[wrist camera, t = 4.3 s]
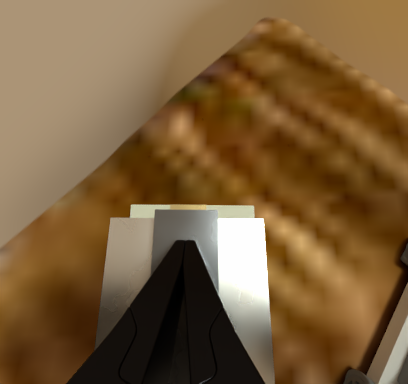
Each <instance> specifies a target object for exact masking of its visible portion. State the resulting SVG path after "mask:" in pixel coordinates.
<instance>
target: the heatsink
mask: <svg viewBox="0 0 408 384" xmlns="http://www.w3.org/2000/svg"><path fill="white" fill-rule="evenodd" d="M170 209H171V210H206V205H170ZM153 230H154V218H111V220H110V228H109V236H108V244H107V252H106V260H105V269H104V277H103V285H102V293H101V301H100V309H99V317H98V325H97V333H96V341H95V349H96V348H97V347H98V346H99V345H100V343H101V342H102V341H103V340H104V339H105V337H106V336H107V335H108V334H109V333H110V331H111V330H112V329H113V327H114V326H115V325H116V323H117V322H118V321H119V319H120V318H121V317H122V315H123V314H124V312H125V311H126V310H127V308H128V307H130V304H131V303H132V301H133V300H134V299H135V297H136V296H137V294H138V293H139V292H140V290H141V289H142V287H143V286H144V284H145V283H146V282H147V280H148V279H149V277H150V275H151V260H152V245H153ZM218 270H219V296H220V298H221V301H222V303H223V305H224V308H225V309H226V312H227V314H228V316H229V318H230V321H231V323H232V325H233V327H234V329H235V331H236V333H237V335H238V337H239V338H240V340H241V342H242V344H243V346H244V348H245V349H246V351H247V353H248V354H249V356H250V358H251V360H252V361H253V363H254V365H255V366H256V368H257V370H258V372H259V373H260V375H261V377H262V378H263V380H264V382H265V384H275V378H274V364H273V350H272V335H271V321H270V307H269V293H268V278H267V264H266V250H265V236H264V221H263V219H218ZM95 349H94V351H95Z"/></svg>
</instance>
